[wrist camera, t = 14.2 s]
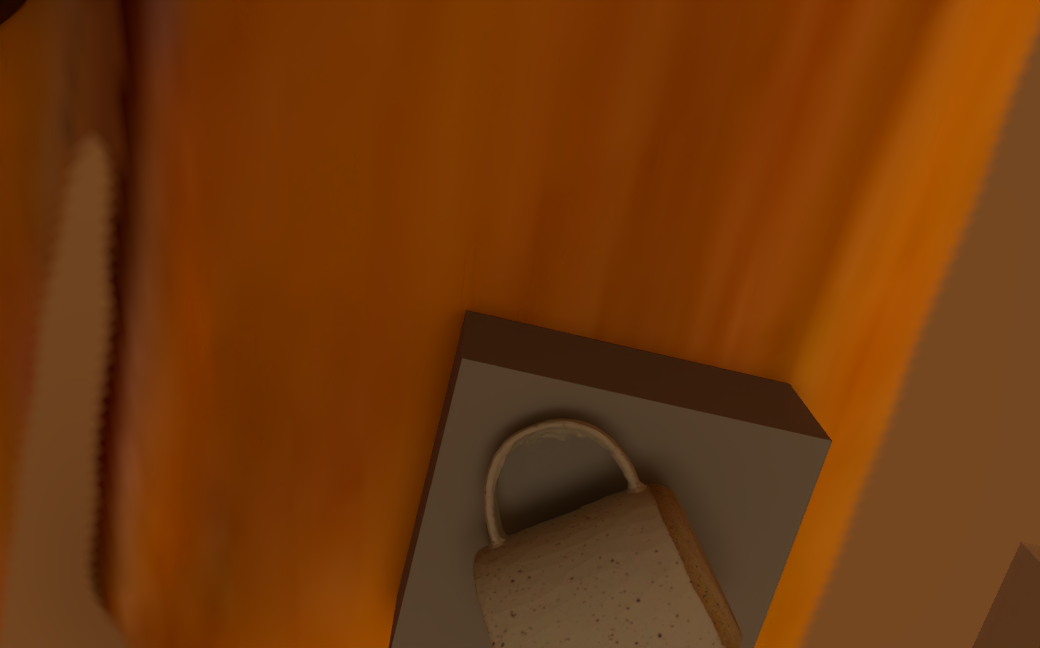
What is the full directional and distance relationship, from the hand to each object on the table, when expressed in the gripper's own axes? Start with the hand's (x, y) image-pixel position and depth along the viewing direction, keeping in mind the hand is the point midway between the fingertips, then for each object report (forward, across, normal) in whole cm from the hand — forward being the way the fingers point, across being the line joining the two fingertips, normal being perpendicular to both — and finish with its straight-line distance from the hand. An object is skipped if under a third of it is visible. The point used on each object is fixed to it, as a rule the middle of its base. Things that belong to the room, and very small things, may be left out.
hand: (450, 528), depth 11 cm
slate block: (+32, +8, -15) cm, 36 cm away
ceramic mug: (+26, +7, -14) cm, 30 cm away
